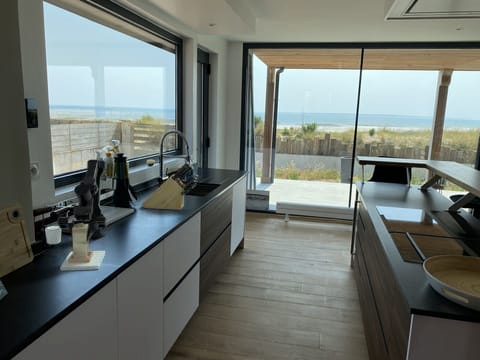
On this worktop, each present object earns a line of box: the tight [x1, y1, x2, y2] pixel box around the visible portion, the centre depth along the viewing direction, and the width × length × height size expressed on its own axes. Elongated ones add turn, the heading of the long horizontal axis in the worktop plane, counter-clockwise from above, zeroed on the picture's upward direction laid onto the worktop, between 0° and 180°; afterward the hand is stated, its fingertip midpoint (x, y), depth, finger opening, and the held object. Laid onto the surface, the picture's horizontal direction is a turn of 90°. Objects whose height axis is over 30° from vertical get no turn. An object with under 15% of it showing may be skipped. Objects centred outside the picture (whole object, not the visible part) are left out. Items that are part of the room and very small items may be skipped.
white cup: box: [44, 225, 62, 245], centre depth 171 cm, size 7×7×7 cm
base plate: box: [60, 250, 106, 272], centre depth 151 cm, size 16×14×3 cm
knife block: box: [141, 161, 199, 211], centre depth 238 cm, size 11×35×31 cm, turn 89°
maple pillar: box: [72, 223, 90, 258], centre depth 149 cm, size 5×5×14 cm
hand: (80, 241), depth 148 cm, fingers closed on maple pillar, 5 cm apart
